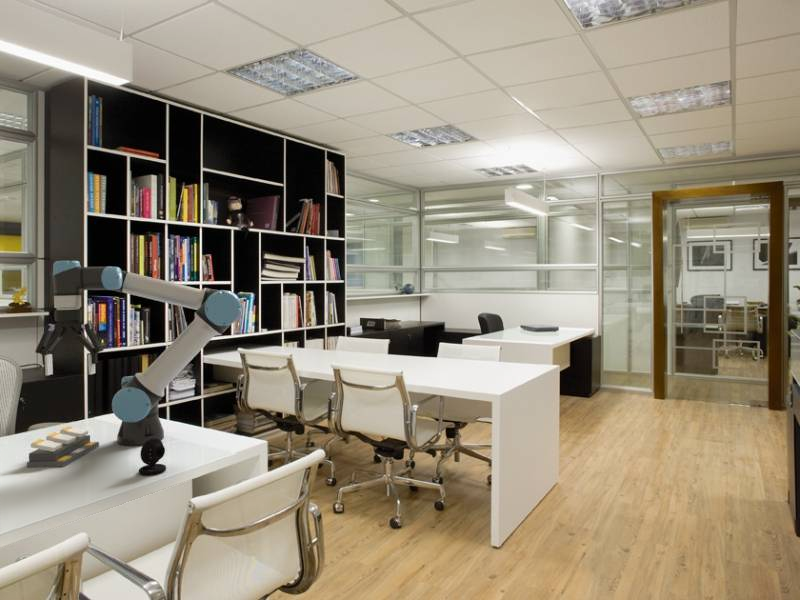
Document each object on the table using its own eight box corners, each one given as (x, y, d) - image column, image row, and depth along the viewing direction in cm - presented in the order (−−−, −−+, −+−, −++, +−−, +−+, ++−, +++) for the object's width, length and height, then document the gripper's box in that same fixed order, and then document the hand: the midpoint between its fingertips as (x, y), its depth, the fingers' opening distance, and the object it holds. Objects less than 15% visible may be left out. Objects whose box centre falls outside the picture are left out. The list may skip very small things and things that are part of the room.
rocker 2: (75, 440, 182) (76, 436, 182) (67, 444, 177) (68, 440, 177) (53, 436, 182) (54, 432, 182) (45, 440, 177) (46, 435, 177)
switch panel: (99, 446, 190) (98, 434, 190) (63, 466, 169) (63, 453, 169) (66, 446, 190) (66, 435, 190) (27, 467, 169) (26, 454, 169)
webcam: (152, 477, 160) (151, 443, 160) (132, 474, 163) (131, 440, 162) (172, 469, 167) (171, 436, 167) (152, 466, 170) (152, 433, 169)
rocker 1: (61, 447, 174) (62, 443, 174) (53, 451, 170) (54, 447, 170) (39, 443, 174) (40, 438, 174) (30, 447, 170) (31, 442, 170)
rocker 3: (87, 433, 190) (88, 430, 190) (80, 437, 185) (81, 433, 185) (67, 429, 189) (68, 426, 189) (59, 433, 185) (60, 429, 185)
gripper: (113, 307, 183) (115, 371, 183) (35, 308, 182) (38, 373, 183) (101, 308, 175) (104, 375, 176) (21, 310, 174) (23, 377, 175)
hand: (70, 374), depth 179 cm, fingers open, 13 cm apart
